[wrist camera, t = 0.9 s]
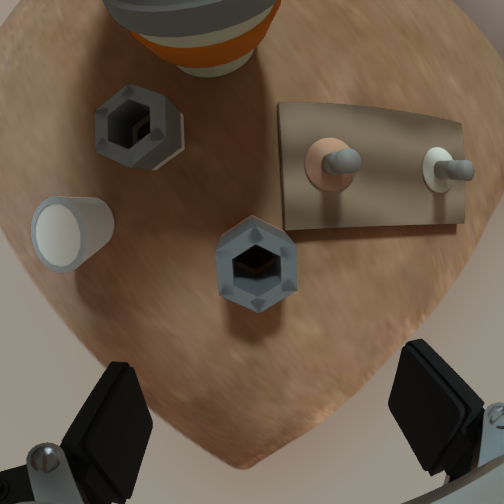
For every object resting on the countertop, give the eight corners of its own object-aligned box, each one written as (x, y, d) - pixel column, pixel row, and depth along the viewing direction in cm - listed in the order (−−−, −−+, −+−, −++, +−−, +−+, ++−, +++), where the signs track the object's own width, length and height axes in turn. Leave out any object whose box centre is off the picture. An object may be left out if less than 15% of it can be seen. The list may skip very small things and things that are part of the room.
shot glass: (59, 210, 27) (21, 219, 20) (103, 179, 26) (66, 180, 19) (84, 264, 28) (50, 285, 21) (130, 237, 28) (99, 254, 21)
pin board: (276, 106, 25) (286, 85, 19) (453, 124, 25) (489, 118, 19) (283, 227, 28) (295, 241, 22) (456, 221, 28) (492, 231, 22)
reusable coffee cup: (170, 112, 25) (103, 53, 10) (142, 24, 22) (86, -53, 7) (291, 72, 24) (333, -13, 10) (249, -11, 21) (254, -103, 7)
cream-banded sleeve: (126, 109, 24) (95, 91, 18) (183, 99, 24) (165, 75, 18) (128, 174, 26) (95, 173, 19) (186, 166, 26) (167, 162, 19)
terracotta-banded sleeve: (220, 216, 27) (212, 227, 21) (283, 212, 27) (295, 222, 21) (225, 284, 29) (221, 315, 22) (285, 281, 29) (297, 310, 22)
